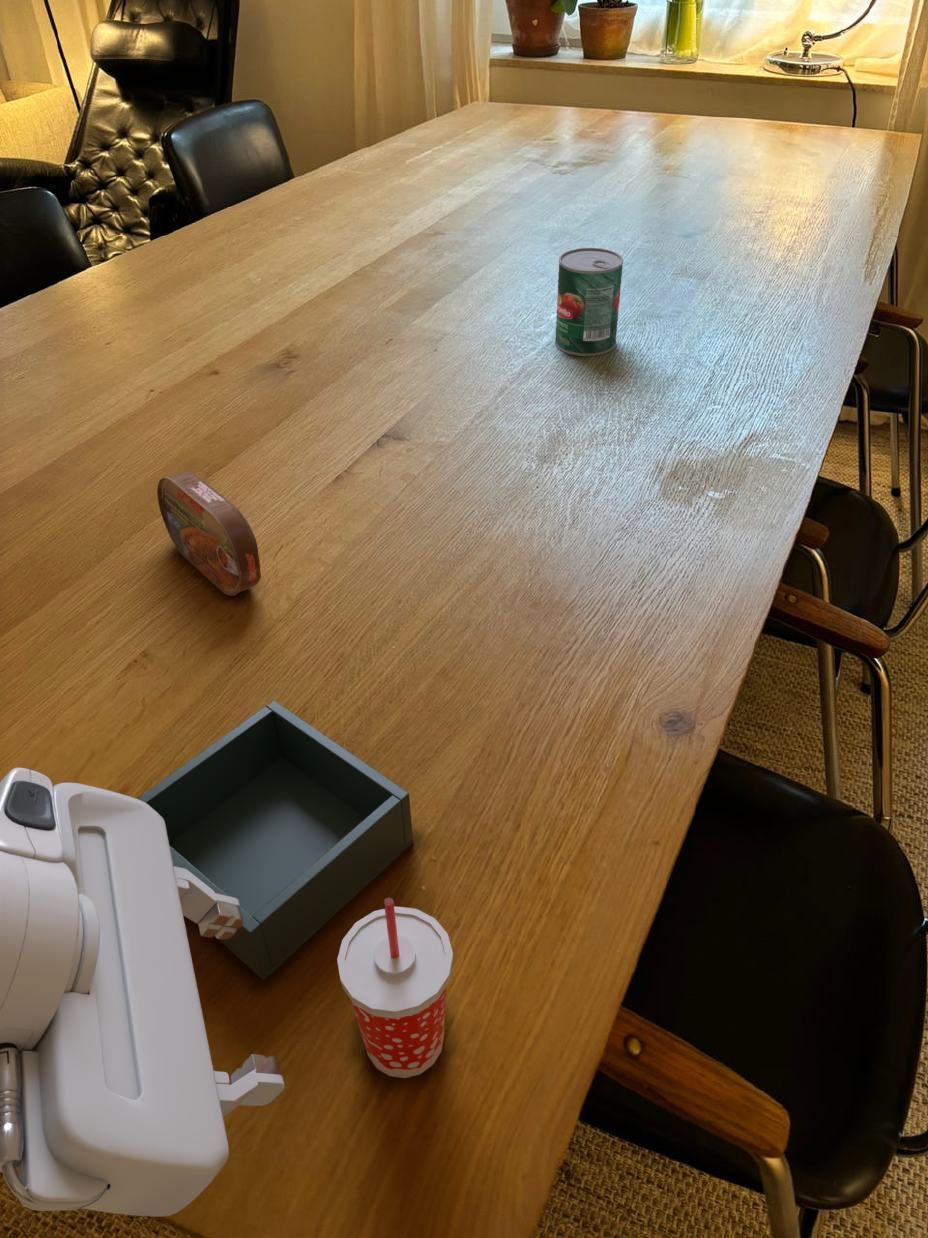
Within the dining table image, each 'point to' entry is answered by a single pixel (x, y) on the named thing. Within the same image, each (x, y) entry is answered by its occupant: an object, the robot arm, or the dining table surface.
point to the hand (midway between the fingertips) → (253, 995)
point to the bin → (281, 829)
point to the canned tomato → (588, 301)
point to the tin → (209, 532)
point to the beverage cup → (398, 986)
